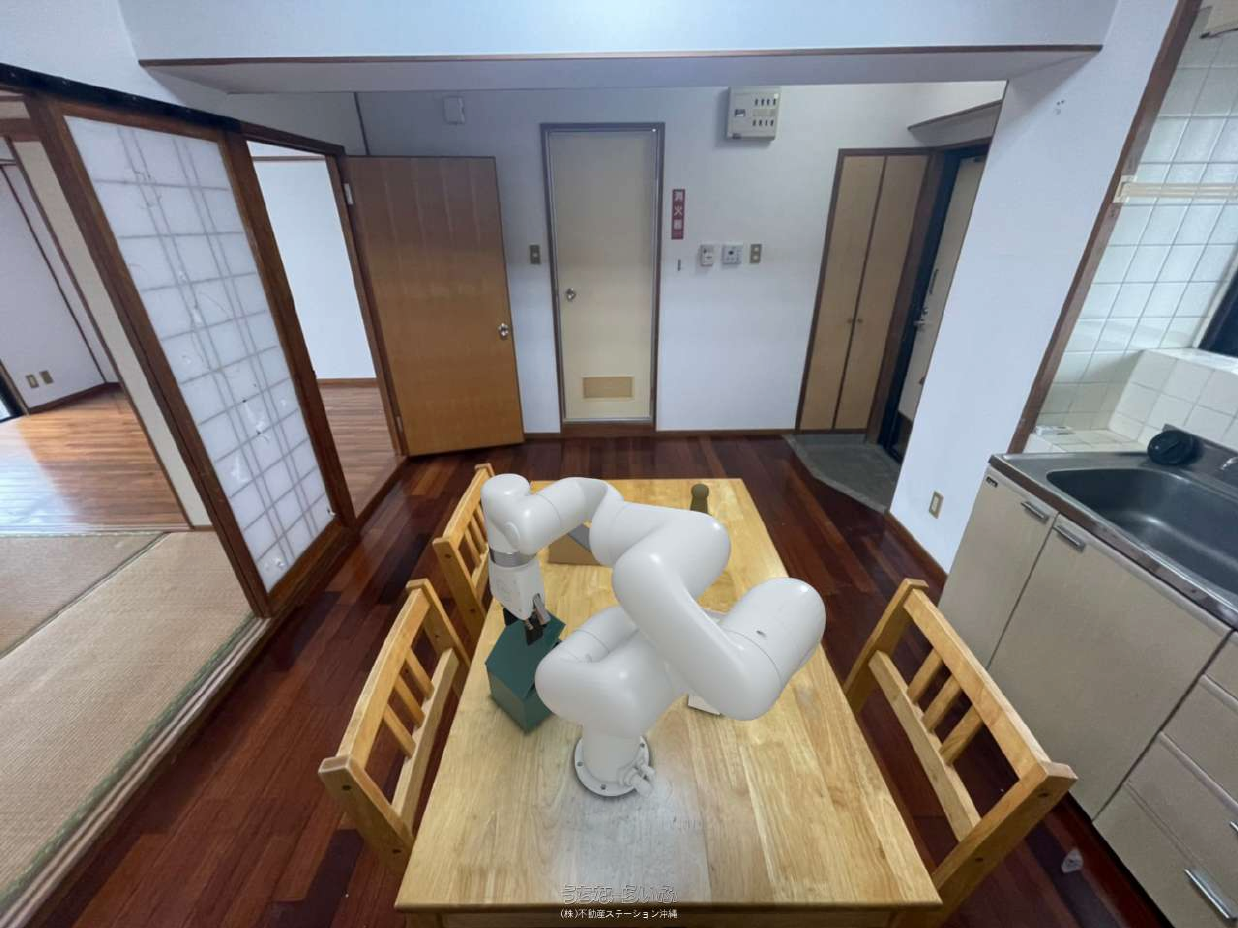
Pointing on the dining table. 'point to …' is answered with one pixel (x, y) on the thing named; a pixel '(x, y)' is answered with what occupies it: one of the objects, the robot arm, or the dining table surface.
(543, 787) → the dining table surface
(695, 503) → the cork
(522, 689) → the lid
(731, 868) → the dining table surface
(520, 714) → the teal open box
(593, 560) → the sandwich container
